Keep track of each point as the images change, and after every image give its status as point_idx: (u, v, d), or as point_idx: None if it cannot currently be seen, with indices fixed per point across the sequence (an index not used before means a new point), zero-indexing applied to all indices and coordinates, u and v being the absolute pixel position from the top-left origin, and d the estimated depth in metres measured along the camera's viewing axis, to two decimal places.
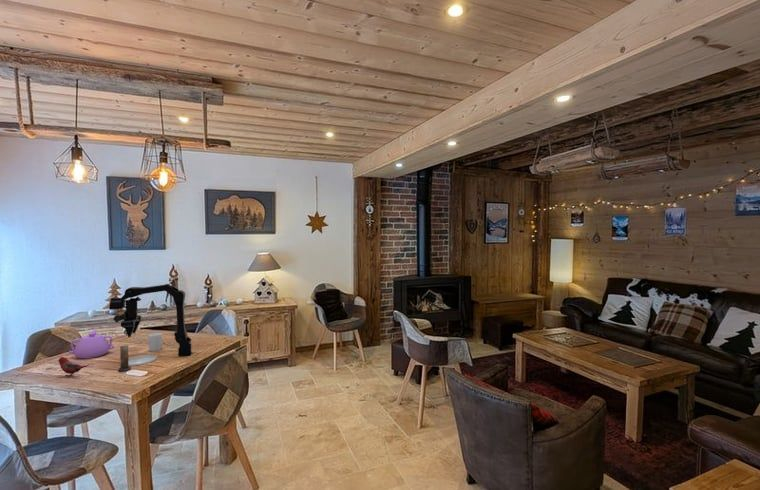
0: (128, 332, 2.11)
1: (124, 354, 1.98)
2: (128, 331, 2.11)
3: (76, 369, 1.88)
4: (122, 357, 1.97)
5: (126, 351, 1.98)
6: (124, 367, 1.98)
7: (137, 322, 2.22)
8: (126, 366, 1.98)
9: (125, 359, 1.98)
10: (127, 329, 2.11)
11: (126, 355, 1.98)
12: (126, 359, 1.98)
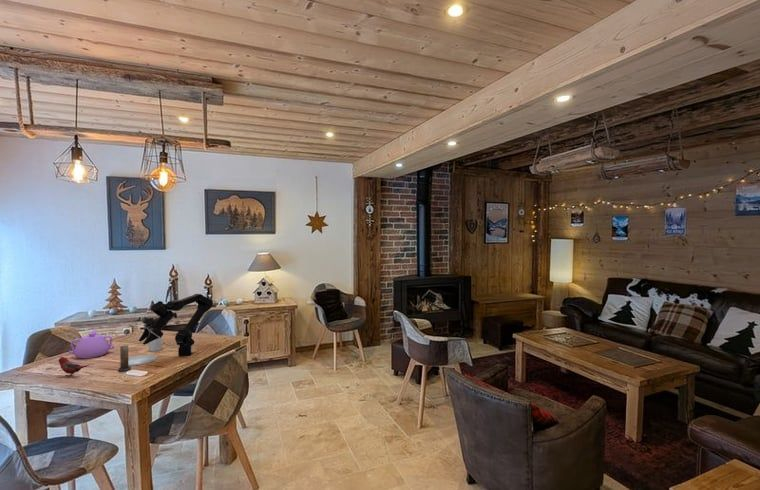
0: (147, 340, 2.02)
1: (124, 354, 1.98)
2: (148, 339, 2.02)
3: (76, 369, 1.88)
4: (122, 357, 1.97)
5: (126, 351, 1.98)
6: (124, 367, 1.98)
7: None
8: (126, 366, 1.98)
9: (125, 359, 1.98)
10: (150, 337, 2.03)
11: (126, 355, 1.98)
12: (126, 359, 1.98)
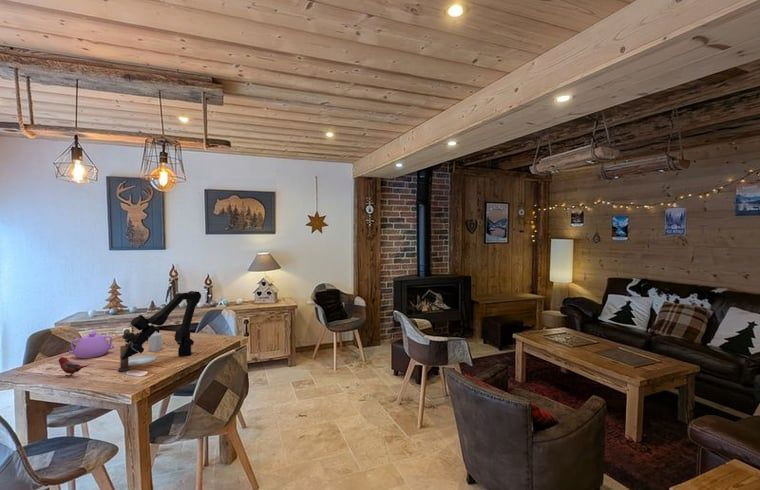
0: (126, 355, 1.97)
1: None
2: (127, 354, 1.98)
3: (76, 369, 1.88)
4: None
5: (126, 351, 1.98)
6: (124, 367, 1.98)
7: None
8: (126, 366, 1.98)
9: None
10: (129, 351, 1.98)
11: None
12: (126, 359, 1.98)
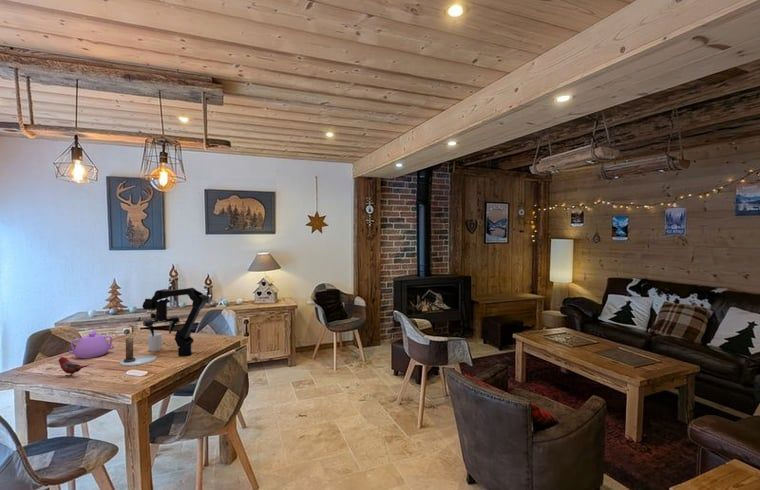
0: (151, 331, 2.23)
1: (129, 346, 2.09)
2: None
3: (76, 369, 1.88)
4: (127, 348, 2.09)
5: (131, 343, 2.10)
6: (129, 358, 2.10)
7: (171, 324, 2.29)
8: (131, 357, 2.10)
9: (130, 350, 2.10)
10: (150, 328, 2.23)
11: (131, 347, 2.10)
12: (131, 351, 2.10)
